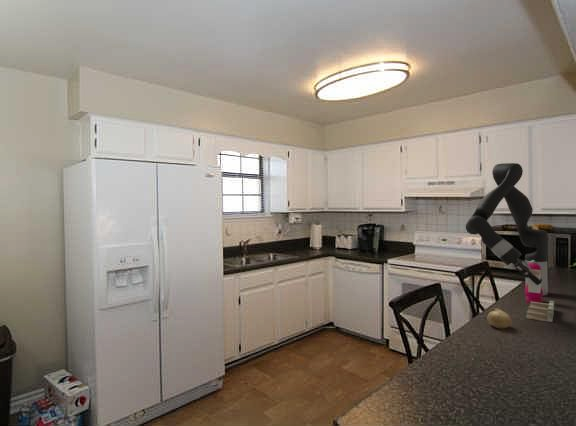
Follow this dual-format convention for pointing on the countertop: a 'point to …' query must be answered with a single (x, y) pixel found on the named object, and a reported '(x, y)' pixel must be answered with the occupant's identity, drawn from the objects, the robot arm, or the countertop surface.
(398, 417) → the countertop surface
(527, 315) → the comb rack
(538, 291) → the plug
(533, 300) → the pepper mill
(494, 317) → the onion
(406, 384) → the countertop surface
